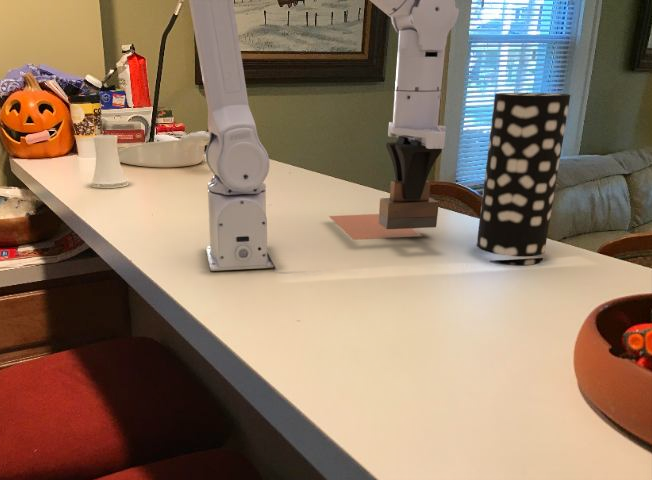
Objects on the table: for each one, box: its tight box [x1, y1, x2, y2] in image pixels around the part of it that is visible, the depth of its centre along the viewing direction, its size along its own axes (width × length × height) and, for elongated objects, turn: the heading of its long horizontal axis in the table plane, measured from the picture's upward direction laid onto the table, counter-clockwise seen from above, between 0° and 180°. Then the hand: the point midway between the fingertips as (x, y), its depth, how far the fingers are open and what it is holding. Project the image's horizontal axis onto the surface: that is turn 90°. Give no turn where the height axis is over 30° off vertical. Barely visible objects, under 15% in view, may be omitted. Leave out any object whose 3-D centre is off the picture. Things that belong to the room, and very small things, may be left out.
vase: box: [90, 134, 129, 189], centre depth 126 cm, size 8×8×10 cm
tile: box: [328, 213, 423, 241], centre depth 90 cm, size 14×10×1 cm
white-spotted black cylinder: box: [476, 92, 571, 266], centre depth 76 cm, size 8×8×20 cm
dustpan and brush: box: [117, 130, 209, 169], centre depth 150 cm, size 23×33×10 cm
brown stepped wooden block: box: [378, 180, 440, 229], centre depth 82 cm, size 7×4×6 cm, turn 99°
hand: (409, 197), depth 82 cm, fingers closed on brown stepped wooden block
